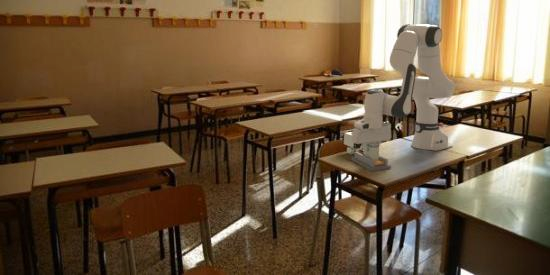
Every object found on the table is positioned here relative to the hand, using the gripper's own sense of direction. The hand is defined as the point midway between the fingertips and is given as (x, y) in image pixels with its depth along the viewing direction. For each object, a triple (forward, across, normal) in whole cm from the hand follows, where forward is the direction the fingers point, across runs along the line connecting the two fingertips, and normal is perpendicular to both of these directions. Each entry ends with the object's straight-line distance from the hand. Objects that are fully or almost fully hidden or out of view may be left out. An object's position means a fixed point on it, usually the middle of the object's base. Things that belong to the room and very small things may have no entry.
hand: (371, 150), depth 202 cm
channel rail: (+7, 0, 0) cm, 7 cm away
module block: (+4, 0, 0) cm, 4 cm away
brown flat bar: (+5, 0, 0) cm, 5 cm away
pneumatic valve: (+7, -1, -19) cm, 20 cm away
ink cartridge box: (+7, -13, -22) cm, 27 cm away
